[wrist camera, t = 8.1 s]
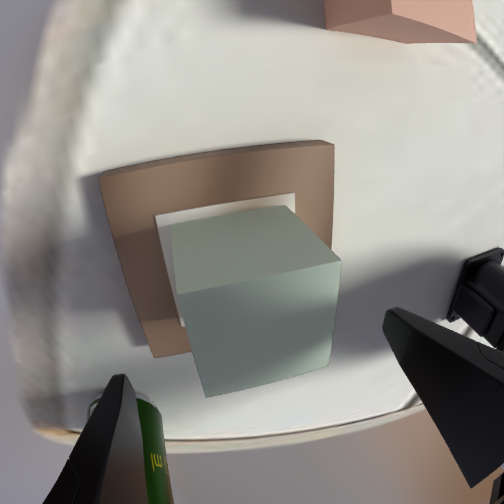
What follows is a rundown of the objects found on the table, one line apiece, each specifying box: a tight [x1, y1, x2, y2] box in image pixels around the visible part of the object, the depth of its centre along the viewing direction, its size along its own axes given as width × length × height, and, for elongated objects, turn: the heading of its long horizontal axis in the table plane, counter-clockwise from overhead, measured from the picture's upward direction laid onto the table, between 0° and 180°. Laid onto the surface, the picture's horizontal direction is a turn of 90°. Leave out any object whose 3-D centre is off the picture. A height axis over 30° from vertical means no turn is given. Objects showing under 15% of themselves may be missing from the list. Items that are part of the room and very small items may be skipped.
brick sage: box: [170, 205, 342, 398], centre depth 12 cm, size 5×5×5 cm
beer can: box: [87, 392, 174, 504], centre depth 14 cm, size 5×5×12 cm
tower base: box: [99, 140, 334, 358], centre depth 15 cm, size 10×10×1 cm
